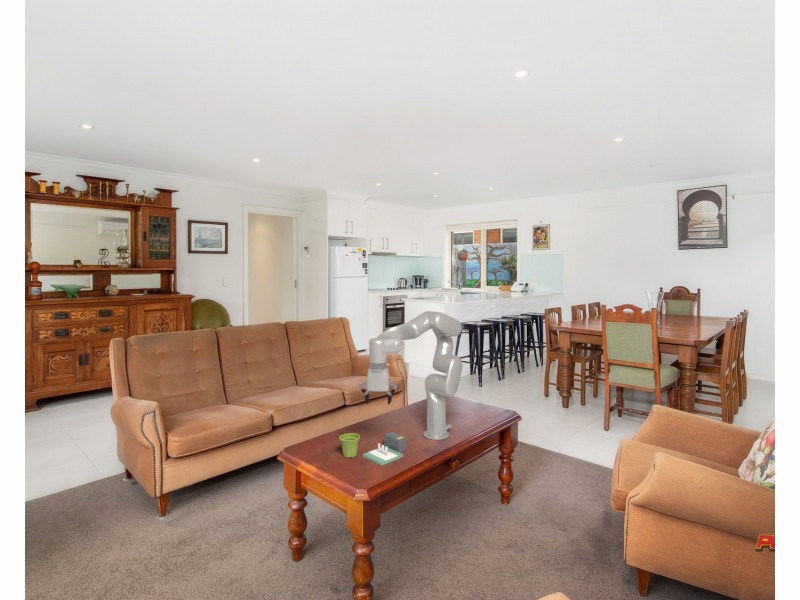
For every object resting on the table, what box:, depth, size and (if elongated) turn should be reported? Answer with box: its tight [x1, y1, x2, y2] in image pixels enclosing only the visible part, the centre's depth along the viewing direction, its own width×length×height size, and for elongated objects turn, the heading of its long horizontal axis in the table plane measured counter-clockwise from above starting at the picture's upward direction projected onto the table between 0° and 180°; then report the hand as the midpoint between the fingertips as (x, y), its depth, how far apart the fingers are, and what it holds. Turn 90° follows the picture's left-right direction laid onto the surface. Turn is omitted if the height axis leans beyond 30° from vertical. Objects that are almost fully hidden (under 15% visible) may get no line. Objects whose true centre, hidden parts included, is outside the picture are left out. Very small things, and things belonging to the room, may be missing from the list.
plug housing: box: [383, 431, 407, 453], centre depth 216 cm, size 5×10×6 cm, turn 44°
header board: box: [362, 442, 404, 467], centre depth 207 cm, size 13×13×5 cm
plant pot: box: [338, 432, 361, 459], centre depth 208 cm, size 9×9×9 cm
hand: (378, 403), depth 205 cm, fingers open, 9 cm apart
